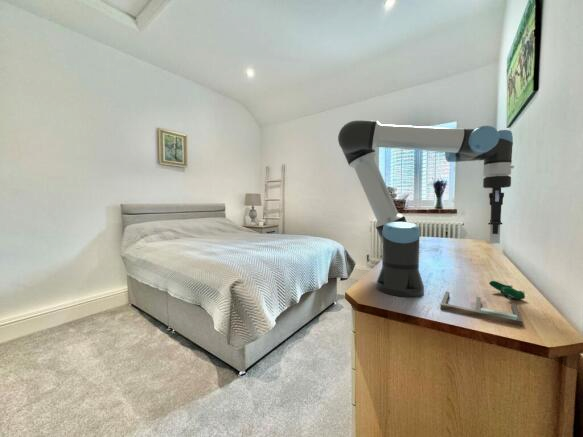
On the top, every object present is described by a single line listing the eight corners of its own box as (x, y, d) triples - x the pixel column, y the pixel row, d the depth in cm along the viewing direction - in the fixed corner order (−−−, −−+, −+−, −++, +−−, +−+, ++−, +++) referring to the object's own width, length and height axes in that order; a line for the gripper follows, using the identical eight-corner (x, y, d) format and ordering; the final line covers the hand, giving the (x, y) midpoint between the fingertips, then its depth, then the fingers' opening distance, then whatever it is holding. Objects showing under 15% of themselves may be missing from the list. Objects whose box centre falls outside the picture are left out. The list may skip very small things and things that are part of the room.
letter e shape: (440, 309, 69) (440, 301, 69) (445, 295, 80) (445, 288, 80) (522, 327, 59) (522, 318, 59) (515, 309, 70) (516, 301, 69)
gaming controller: (505, 300, 75) (528, 302, 74) (506, 288, 75) (529, 290, 74) (488, 290, 84) (507, 292, 83) (488, 279, 84) (508, 281, 83)
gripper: (513, 173, 79) (510, 246, 80) (509, 177, 89) (506, 241, 90) (483, 175, 83) (481, 244, 84) (483, 178, 94) (481, 240, 95)
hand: (494, 242), depth 87 cm, fingers closed
